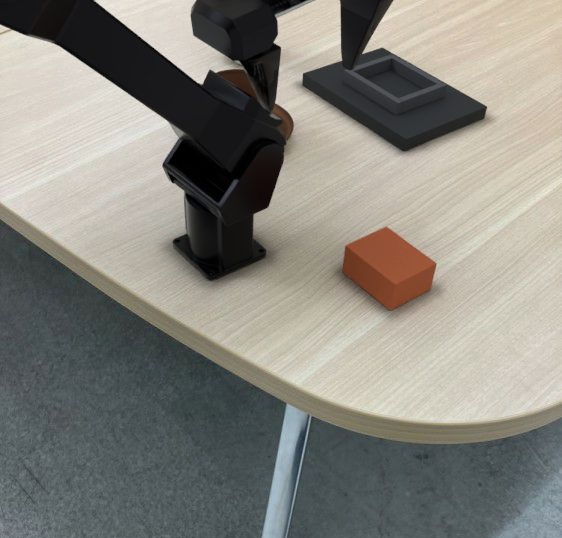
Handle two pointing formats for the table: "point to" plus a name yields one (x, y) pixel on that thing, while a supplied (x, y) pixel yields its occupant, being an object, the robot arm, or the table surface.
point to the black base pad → (395, 98)
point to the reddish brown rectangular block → (388, 267)
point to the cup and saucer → (242, 82)
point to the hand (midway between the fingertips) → (308, 88)
